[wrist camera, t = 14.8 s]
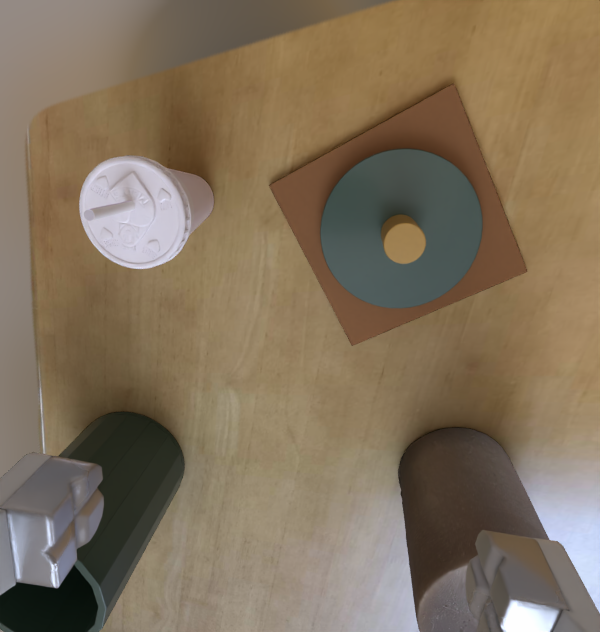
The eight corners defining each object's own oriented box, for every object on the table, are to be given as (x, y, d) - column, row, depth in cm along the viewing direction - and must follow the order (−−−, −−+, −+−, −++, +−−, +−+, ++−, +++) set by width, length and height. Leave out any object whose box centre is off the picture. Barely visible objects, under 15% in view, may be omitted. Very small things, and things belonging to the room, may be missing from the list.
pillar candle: (383, 499, 42) (395, 673, 28) (420, 411, 38) (454, 559, 24) (486, 530, 42) (550, 721, 28) (533, 444, 38) (632, 613, 24)
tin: (77, 481, 46) (-43, 618, 32) (90, 397, 42) (-38, 512, 29) (173, 514, 46) (94, 666, 32) (194, 432, 42) (116, 565, 29)
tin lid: (302, 276, 35) (293, 296, 30) (351, 126, 31) (349, 121, 27) (440, 323, 35) (453, 350, 30) (506, 178, 31) (533, 183, 26)
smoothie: (237, 164, 34) (158, 171, 21) (225, 248, 36) (148, 303, 23) (153, 146, 34) (23, 142, 21) (147, 231, 36) (26, 276, 23)
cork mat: (270, 184, 34) (268, 185, 33) (452, 83, 30) (454, 82, 30) (352, 343, 37) (352, 346, 37) (525, 270, 34) (527, 271, 33)
